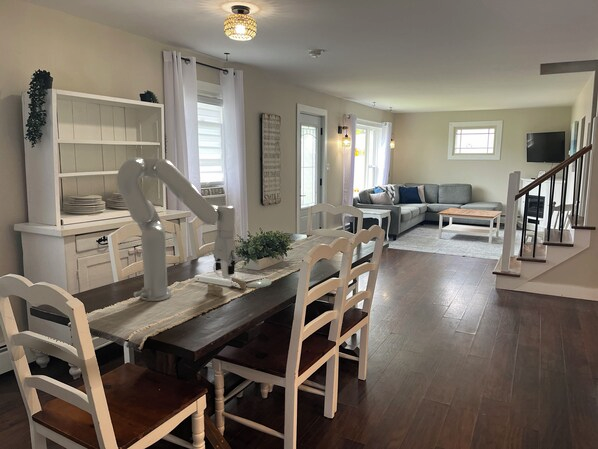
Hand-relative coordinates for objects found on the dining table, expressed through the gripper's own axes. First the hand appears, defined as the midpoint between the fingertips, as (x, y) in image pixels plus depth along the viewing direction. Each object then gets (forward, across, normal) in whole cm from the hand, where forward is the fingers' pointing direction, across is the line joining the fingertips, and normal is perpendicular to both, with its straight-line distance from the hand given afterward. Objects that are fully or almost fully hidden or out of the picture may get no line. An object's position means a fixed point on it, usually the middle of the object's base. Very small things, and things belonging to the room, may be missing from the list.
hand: (224, 271), depth 203 cm
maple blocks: (+9, +1, +1) cm, 9 cm away
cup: (+3, 0, 0) cm, 3 cm away
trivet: (+8, +2, +18) cm, 20 cm away
